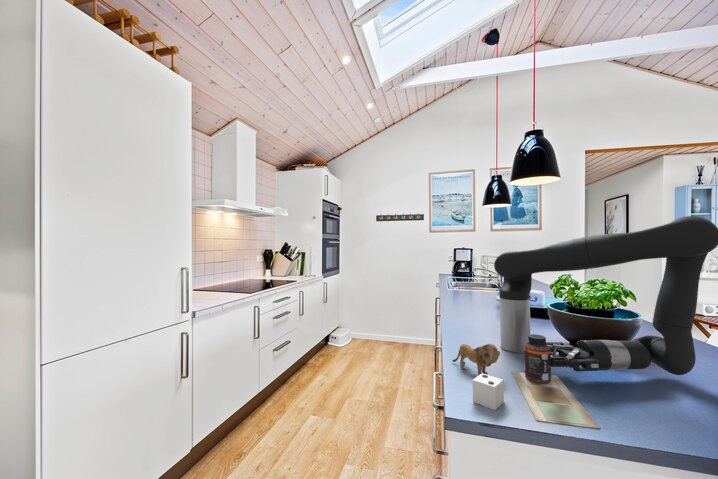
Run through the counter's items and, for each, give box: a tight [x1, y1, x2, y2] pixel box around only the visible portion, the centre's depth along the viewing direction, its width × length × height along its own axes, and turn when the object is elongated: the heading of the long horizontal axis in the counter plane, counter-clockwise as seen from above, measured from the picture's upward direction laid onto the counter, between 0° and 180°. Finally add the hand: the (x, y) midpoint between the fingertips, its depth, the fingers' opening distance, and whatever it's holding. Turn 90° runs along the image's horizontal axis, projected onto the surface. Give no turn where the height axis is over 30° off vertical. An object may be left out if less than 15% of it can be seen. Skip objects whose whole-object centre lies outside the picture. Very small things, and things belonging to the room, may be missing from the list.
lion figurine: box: [452, 343, 501, 376], centre depth 86 cm, size 15×5×9 cm, turn 36°
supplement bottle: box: [523, 333, 552, 384], centre depth 79 cm, size 6×6×11 cm
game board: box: [511, 371, 601, 430], centre depth 71 cm, size 11×24×1 cm, turn 164°
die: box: [472, 373, 505, 411], centre depth 69 cm, size 5×5×5 cm
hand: (539, 355), depth 79 cm, fingers open, 8 cm apart
